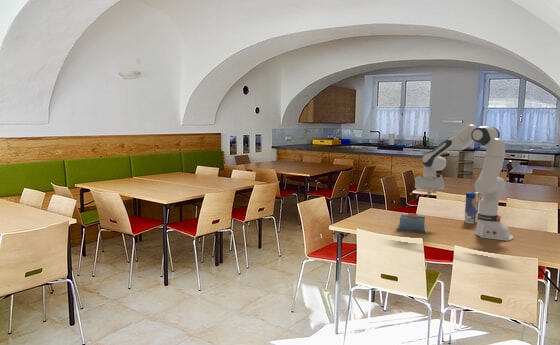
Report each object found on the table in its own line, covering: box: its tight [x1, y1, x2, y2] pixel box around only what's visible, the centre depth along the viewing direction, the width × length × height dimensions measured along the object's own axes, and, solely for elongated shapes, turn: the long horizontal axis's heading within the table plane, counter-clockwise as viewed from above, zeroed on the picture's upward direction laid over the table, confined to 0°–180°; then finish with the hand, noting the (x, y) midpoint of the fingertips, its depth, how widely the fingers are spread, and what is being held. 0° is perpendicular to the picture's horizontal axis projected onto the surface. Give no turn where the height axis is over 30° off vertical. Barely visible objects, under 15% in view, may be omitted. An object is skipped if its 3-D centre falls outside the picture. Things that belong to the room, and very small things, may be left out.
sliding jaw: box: [400, 214, 426, 224], centre depth 300 cm, size 16×2×7 cm, turn 70°
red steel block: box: [407, 212, 418, 218], centre depth 296 cm, size 6×4×9 cm
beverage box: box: [463, 191, 480, 224], centre depth 321 cm, size 7×11×22 cm, turn 144°
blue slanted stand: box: [396, 216, 427, 234], centre depth 298 cm, size 18×20×8 cm
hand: (429, 194), depth 309 cm, fingers closed
